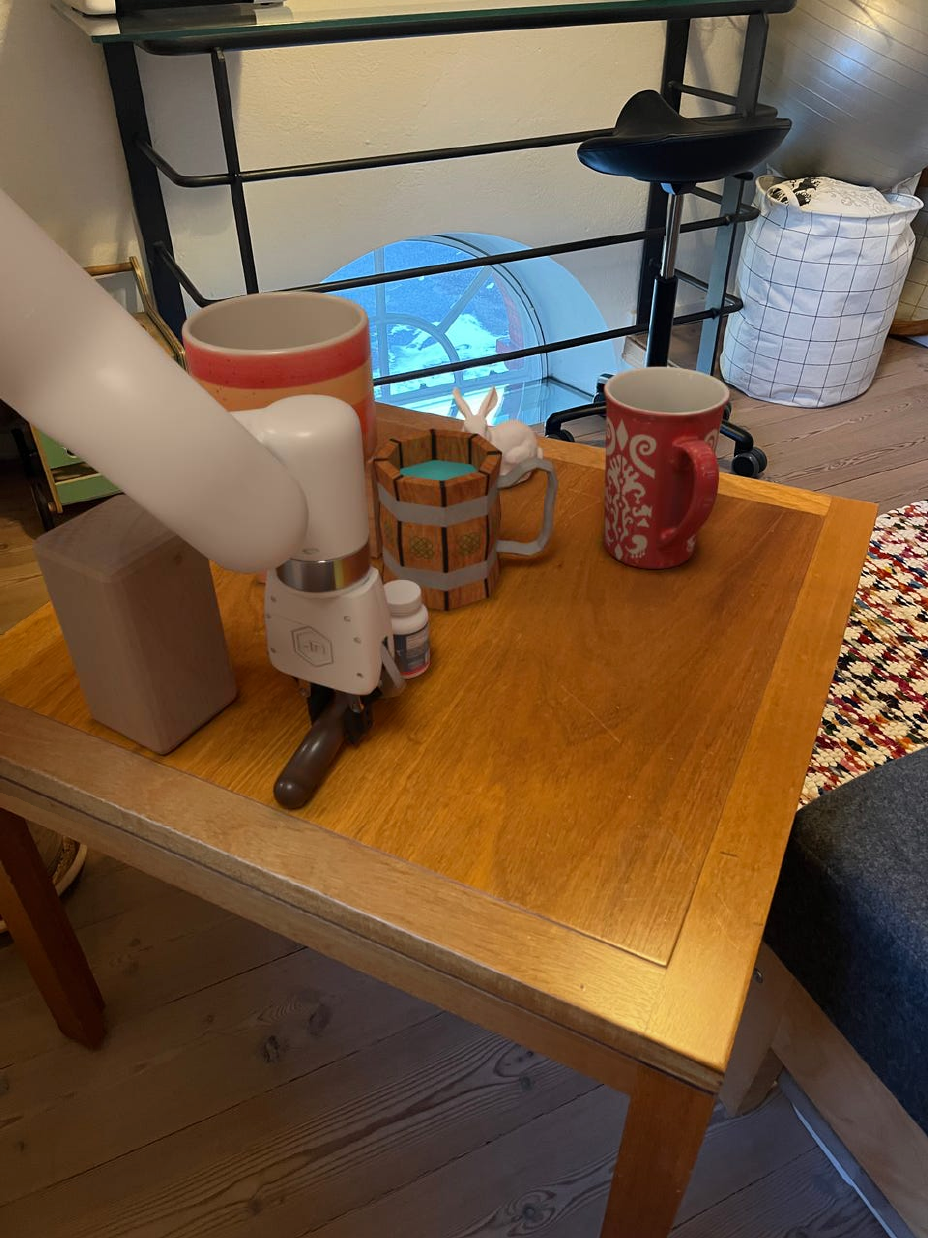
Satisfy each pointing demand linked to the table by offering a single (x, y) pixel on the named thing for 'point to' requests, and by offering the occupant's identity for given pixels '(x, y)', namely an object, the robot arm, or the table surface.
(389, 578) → the mug
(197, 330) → the planter
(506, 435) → the rabbit
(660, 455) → the mug
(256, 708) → the table surface
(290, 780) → the spoon
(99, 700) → the wooden block
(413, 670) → the pill bottle
